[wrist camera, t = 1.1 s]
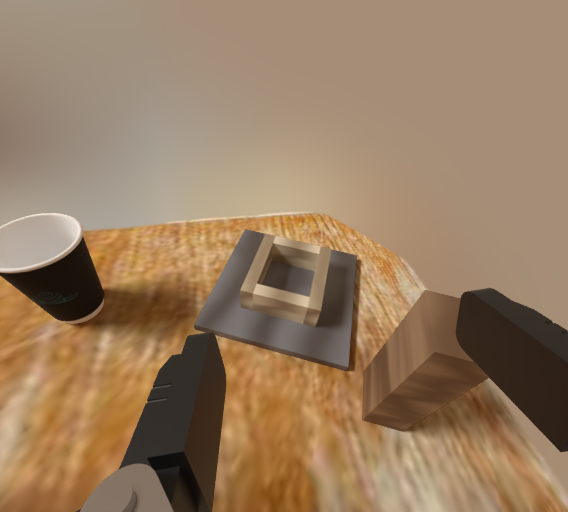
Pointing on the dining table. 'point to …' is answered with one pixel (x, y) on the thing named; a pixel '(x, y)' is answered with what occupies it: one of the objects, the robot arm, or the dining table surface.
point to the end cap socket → (285, 299)
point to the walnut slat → (419, 366)
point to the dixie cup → (51, 265)
